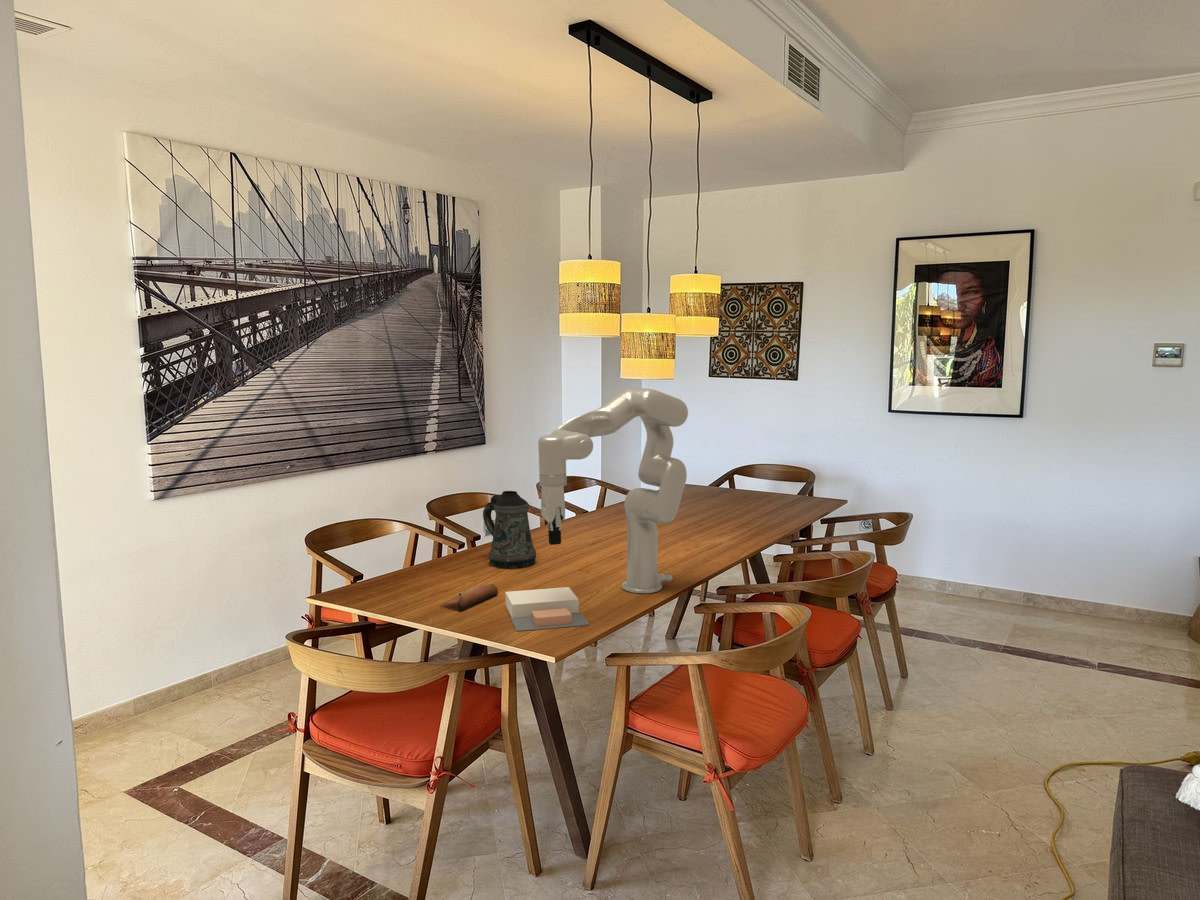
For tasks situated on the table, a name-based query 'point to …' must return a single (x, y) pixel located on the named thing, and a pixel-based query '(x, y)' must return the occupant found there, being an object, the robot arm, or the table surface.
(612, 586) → the table surface
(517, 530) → the beer stein
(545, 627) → the mat
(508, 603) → the block
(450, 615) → the table surface
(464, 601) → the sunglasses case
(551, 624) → the tile
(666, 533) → the table surface
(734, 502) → the table surface
